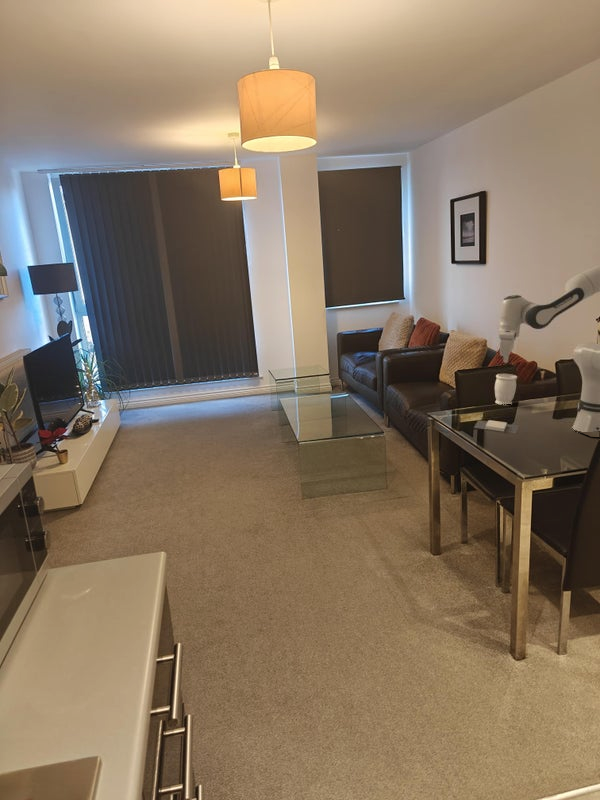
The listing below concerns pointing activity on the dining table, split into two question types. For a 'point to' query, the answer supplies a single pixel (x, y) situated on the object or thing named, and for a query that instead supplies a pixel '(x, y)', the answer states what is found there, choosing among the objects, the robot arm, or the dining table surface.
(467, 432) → the dining table surface
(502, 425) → the tile
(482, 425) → the mat
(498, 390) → the jar
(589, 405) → the robot arm
